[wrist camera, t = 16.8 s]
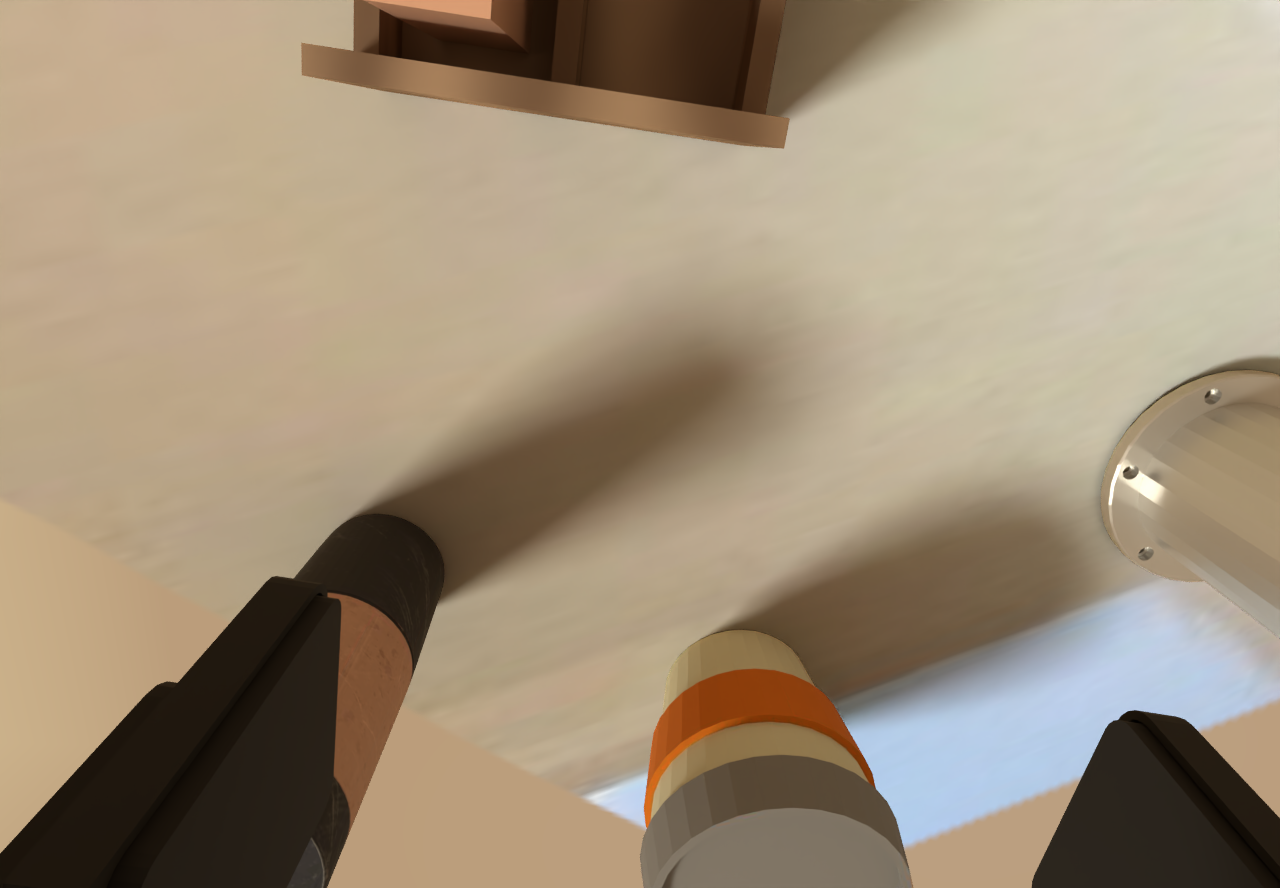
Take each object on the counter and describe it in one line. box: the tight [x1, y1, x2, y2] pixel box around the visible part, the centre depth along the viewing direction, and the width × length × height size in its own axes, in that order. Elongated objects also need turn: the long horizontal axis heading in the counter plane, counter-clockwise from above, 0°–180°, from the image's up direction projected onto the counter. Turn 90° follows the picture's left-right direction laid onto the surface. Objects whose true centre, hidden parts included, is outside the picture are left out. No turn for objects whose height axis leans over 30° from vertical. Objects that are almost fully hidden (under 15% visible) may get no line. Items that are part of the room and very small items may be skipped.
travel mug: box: [287, 514, 444, 888], centre depth 36 cm, size 8×8×20 cm
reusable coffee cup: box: [640, 630, 913, 888], centre depth 42 cm, size 13×13×15 cm
